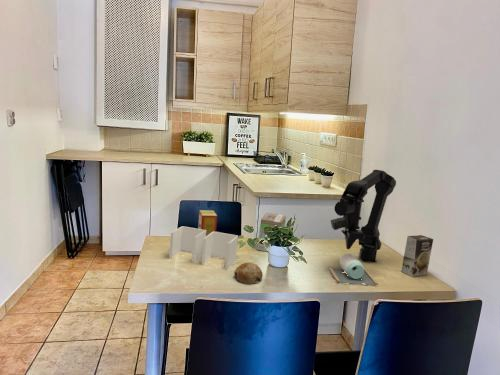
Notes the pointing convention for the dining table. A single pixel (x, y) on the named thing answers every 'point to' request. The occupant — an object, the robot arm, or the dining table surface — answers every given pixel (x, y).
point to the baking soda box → (207, 221)
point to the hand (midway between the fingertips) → (347, 249)
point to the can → (352, 266)
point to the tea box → (269, 225)
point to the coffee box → (417, 255)
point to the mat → (344, 278)
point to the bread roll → (248, 273)
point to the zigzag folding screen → (204, 244)
